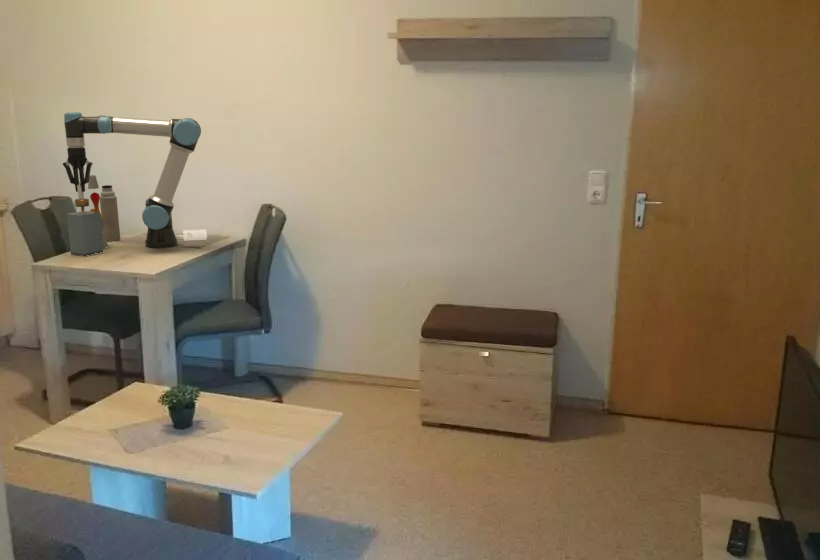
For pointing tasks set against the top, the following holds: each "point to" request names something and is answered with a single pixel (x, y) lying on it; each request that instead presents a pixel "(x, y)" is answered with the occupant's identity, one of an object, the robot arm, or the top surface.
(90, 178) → the lava lamp
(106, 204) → the thermos bottle
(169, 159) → the robot arm
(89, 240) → the grey utensil holder
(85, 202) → the plunger
